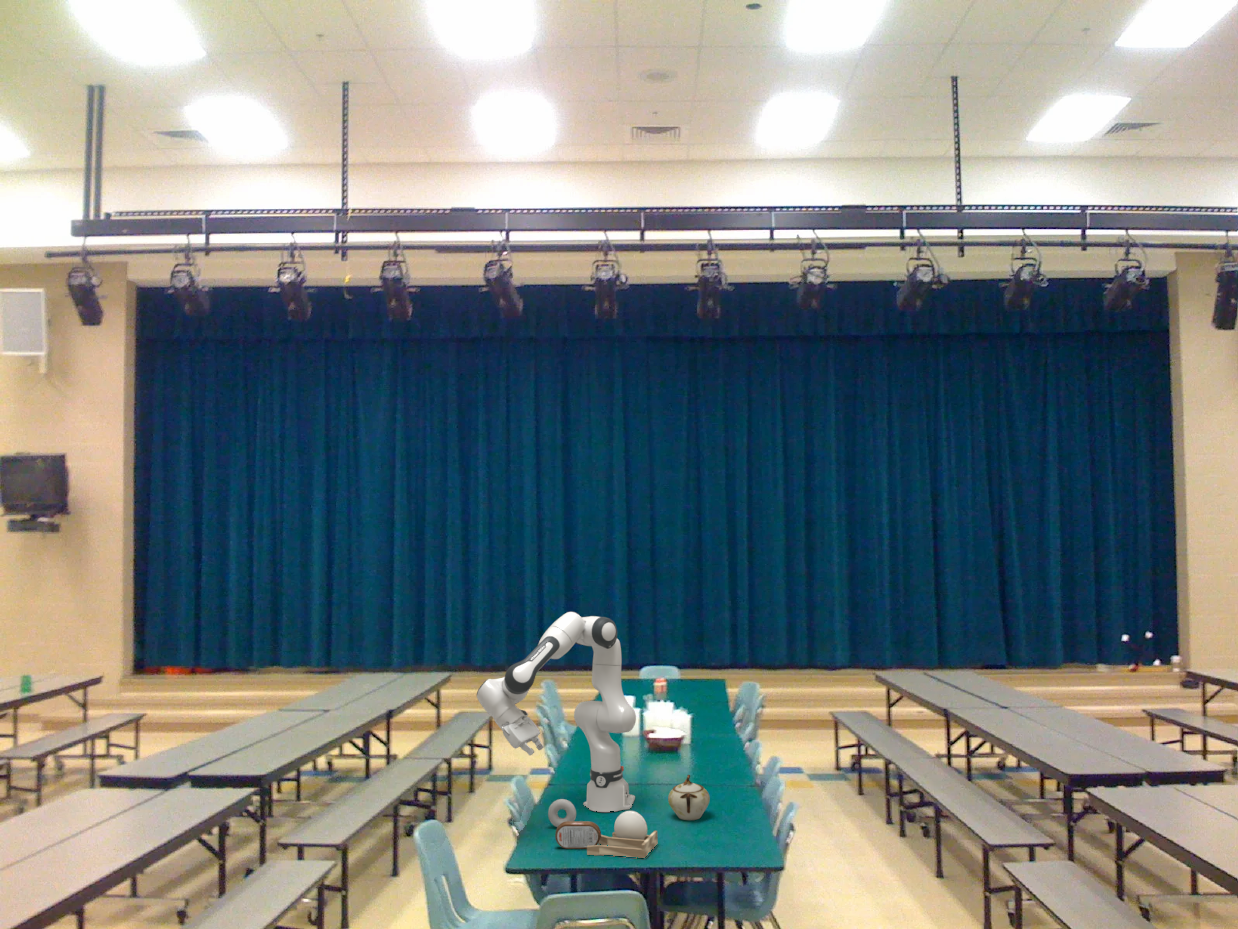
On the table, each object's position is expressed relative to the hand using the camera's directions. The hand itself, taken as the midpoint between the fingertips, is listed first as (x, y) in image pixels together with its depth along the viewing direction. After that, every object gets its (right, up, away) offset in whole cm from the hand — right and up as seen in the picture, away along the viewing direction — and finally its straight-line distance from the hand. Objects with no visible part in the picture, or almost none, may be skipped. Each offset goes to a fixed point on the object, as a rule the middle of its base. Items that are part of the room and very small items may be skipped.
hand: (537, 751), depth 325 cm
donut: (+8, -30, +9) cm, 32 cm away
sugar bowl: (+53, -29, +18) cm, 64 cm away
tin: (+14, -28, -12) cm, 34 cm away
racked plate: (+32, -28, -11) cm, 44 cm away
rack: (+29, -28, -15) cm, 43 cm away
